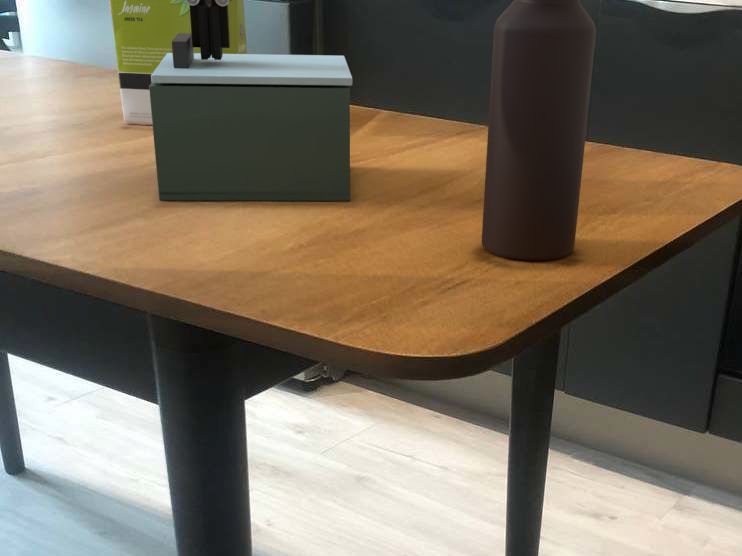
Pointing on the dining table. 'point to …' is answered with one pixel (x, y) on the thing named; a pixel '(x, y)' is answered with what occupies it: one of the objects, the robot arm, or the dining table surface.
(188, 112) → the open storage box
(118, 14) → the tea box
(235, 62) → the sliding lid with knob
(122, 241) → the dining table surface
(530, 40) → the bottle
